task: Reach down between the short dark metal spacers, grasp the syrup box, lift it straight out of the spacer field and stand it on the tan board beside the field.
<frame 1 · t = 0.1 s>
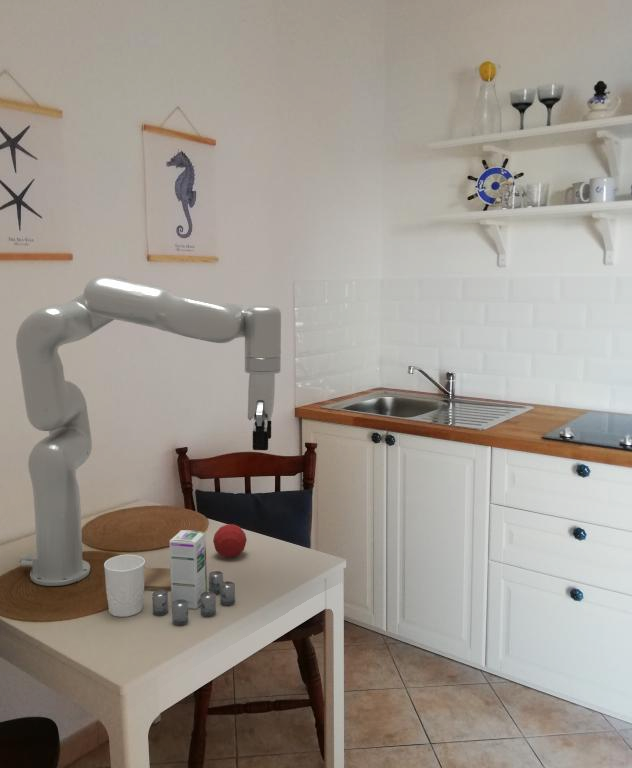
hand: (262, 443, 152), 31 cm above the table, tool pointing down, fingers open, 9 cm apart
spacer field: (189, 601, 147), on the table
syrup box: (189, 602, 147), on the table
white cup: (125, 610, 143), on the table
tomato: (230, 556, 170), on the table
tan board: (152, 581, 156), on the table
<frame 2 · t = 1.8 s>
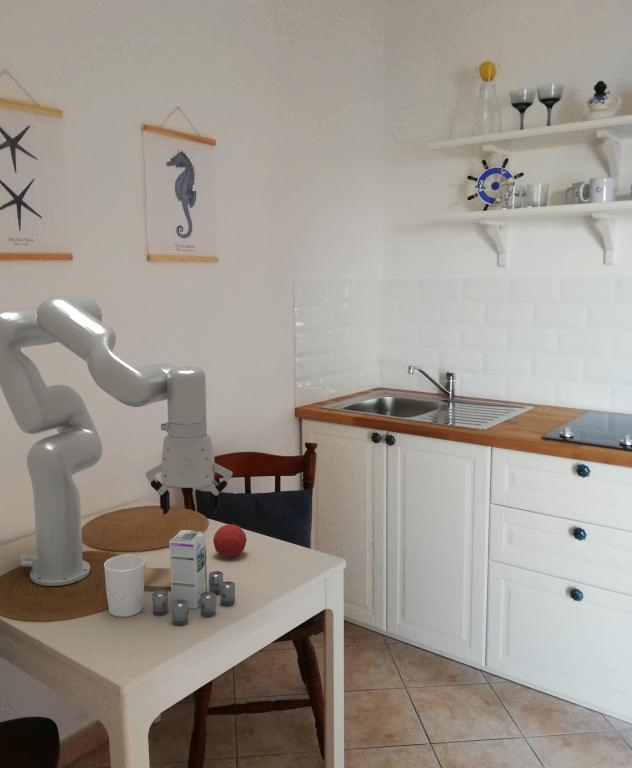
hand: (190, 512, 143), 19 cm above the table, tool pointing down, fingers open, 9 cm apart
nothing on the table moved.
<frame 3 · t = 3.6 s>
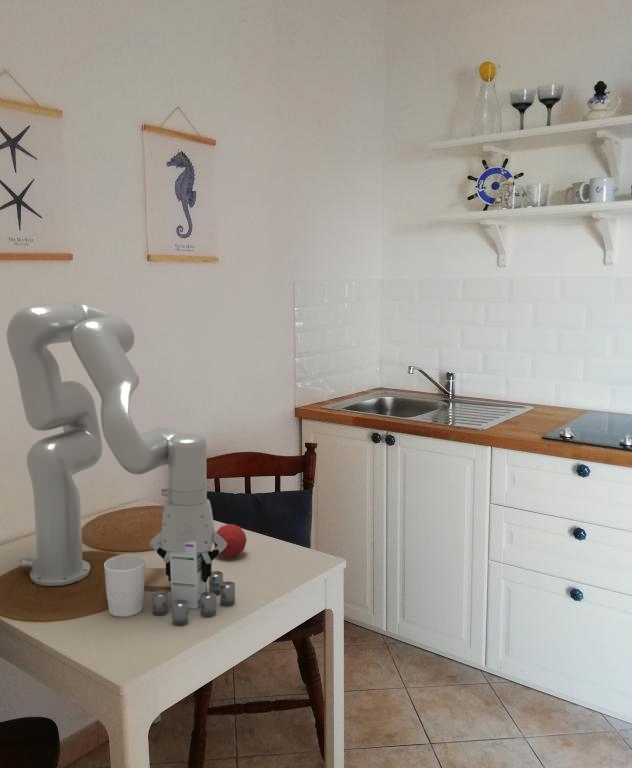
hand: (188, 578, 146), 5 cm above the table, tool pointing down, fingers closed on syrup box, 6 cm apart
syrup box: (189, 602, 147), on the table, touching gripper
everything else where it was.
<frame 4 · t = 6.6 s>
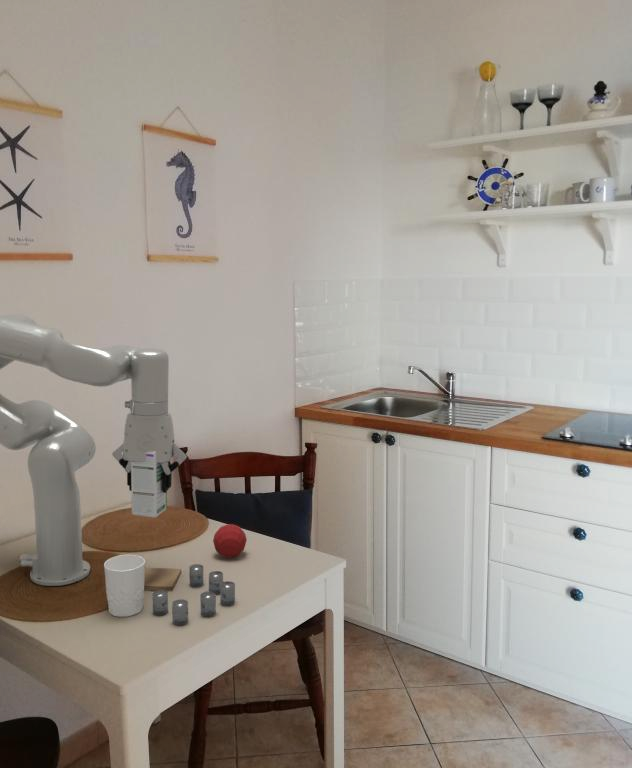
hand: (149, 489, 152), 21 cm above the table, tool pointing down, fingers closed on syrup box, 6 cm apart
syrup box: (149, 512, 153), point 16 cm above the table, touching gripper
everything else where it was.
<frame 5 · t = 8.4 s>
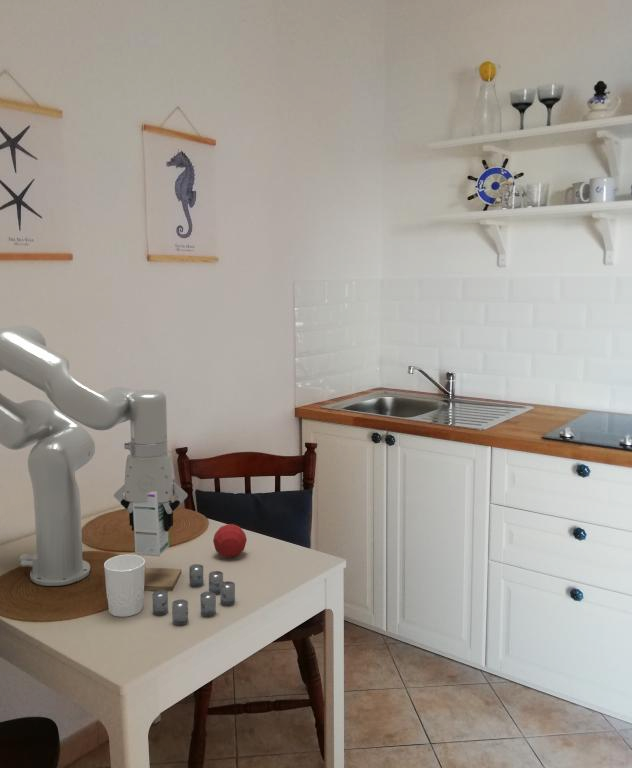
hand: (151, 528, 154), 12 cm above the table, tool pointing down, fingers closed on syrup box, 6 cm apart
syrup box: (152, 551, 155), point 7 cm above the table, touching gripper
everything else where it was.
when the fingers open (7 cm above the table, at t = 9.8 s): syrup box drops 1 cm, resting on tan board.
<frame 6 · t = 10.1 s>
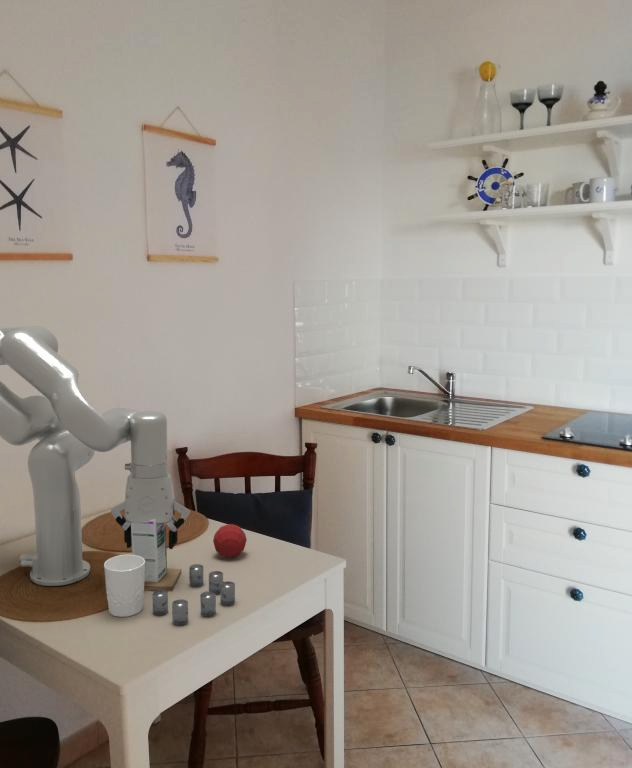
hand: (151, 545, 154), 8 cm above the table, tool pointing down, fingers open, 8 cm apart
syrup box: (150, 577, 156), point 1 cm above the table, touching tan board
everything else where it was.
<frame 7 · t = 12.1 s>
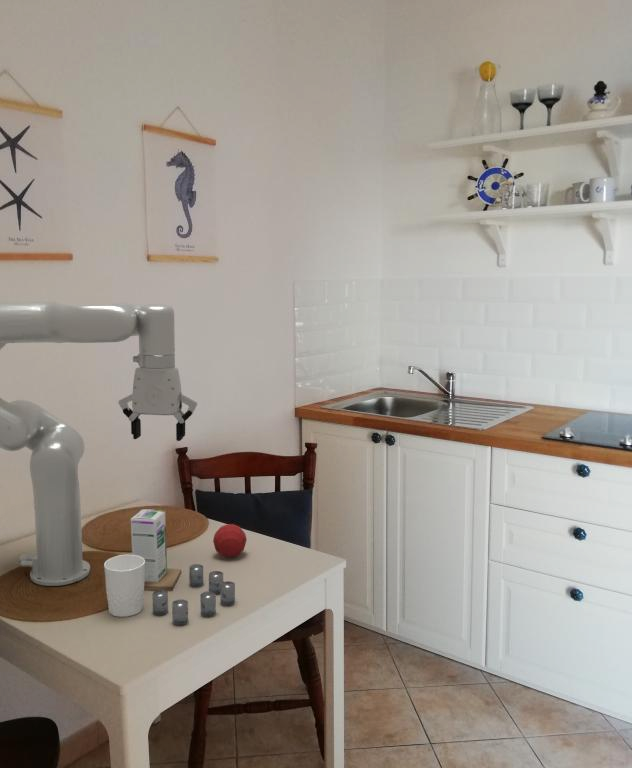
hand: (158, 438, 157), 31 cm above the table, tool pointing down, fingers open, 9 cm apart
nothing on the table moved.
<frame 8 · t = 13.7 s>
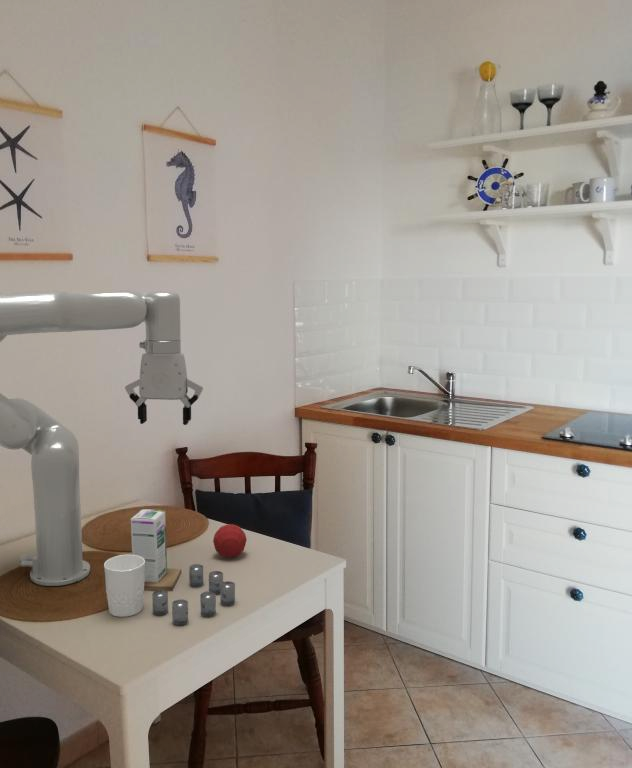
hand: (164, 423, 160), 33 cm above the table, tool pointing down, fingers open, 9 cm apart
nothing on the table moved.
at the end: syrup box inside the target area on the tan board (0.4 cm from its centre), point 0.8 cm above the tan board's base; syrup box tilted 0°; the gripper is holding nothing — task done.
